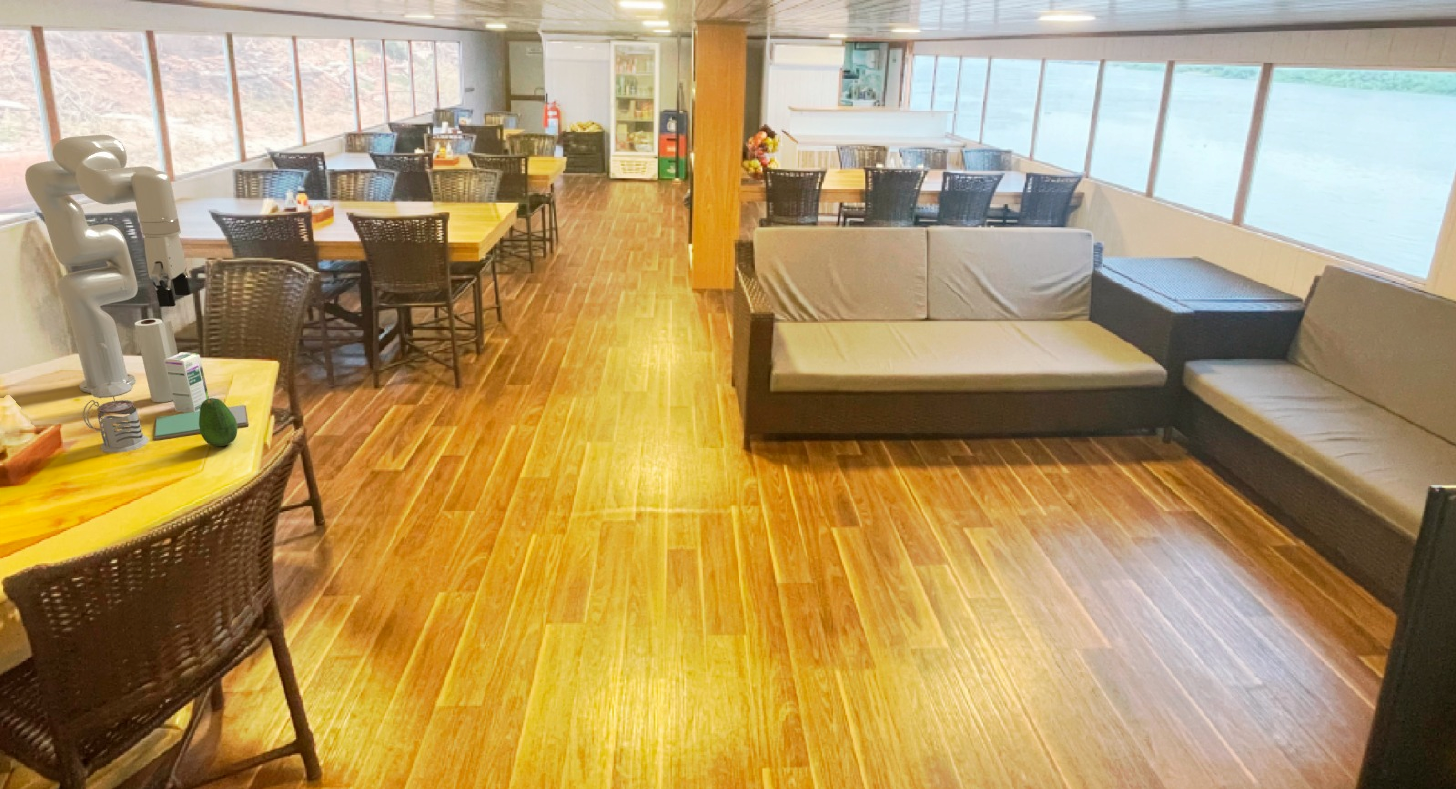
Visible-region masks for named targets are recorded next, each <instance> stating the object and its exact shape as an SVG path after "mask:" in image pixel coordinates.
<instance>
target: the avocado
mask: <svg viewBox="0 0 1456 789" xmlns="http://www.w3.org/2000/svg"><path fill="white" fill-rule="evenodd" d="M228 407H229V406H227V405H226V404H225V403H224V401H222V400H221V399H220V398H212V397H211V398H210V397H209V399H206V400H205V401H204V402H203V403H202V404H201V407H200V416H199V427H200V434H199V435H201V437H202V438H203V440H204V441H205V442H206V443H207V444H209V445H210V446H214V447H224V446H229V445H230V444H231V443H232V442H234V441H235V440H236V438H237V435H238V428H237V422H236V419H235V417H234V415H233V414H232V412H231V411H230V410H229V409H228Z"/></svg>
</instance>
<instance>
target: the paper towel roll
mask: <svg viewBox="0 0 1456 789" xmlns="http://www.w3.org/2000/svg"><path fill="white" fill-rule="evenodd" d="M134 328H135V332H136V336H137V340H138V345H139V349H140V350H139V351H140V355H141V359H142V362H143V368H144V373H145V377H146V381H147V384H148V390H149V395H150V399H151V401H152V402H154V403H167V402H171V401H173V397H172V393H171V389H170V384H169V380H168V376H167V371H166V367H165V363H164V360H165V359H167V358H170V357H172V356H174V355H177V354H179V352H178V347H177V343H176V338H175V334H174V329H173V323H172V321H171V320H169V321H168V320H167V321H163V320H162V319H161V318H146V319H140V320H138V321H137V320H136V322H134Z"/></svg>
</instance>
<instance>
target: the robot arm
mask: <svg viewBox="0 0 1456 789" xmlns="http://www.w3.org/2000/svg"><path fill="white" fill-rule="evenodd" d="M52 157H53V159H54V160H49V161H43V162H37V163H34V164H32V165H30V166H28V167H27V169H26V170H25V175H24V178H25V184H26V187H27V190H28V192H29V194H30V196H31V198H32V199H33V201H34V202H35V203H36V205H37V206H38V208H39V209H40V211H41V213H42V216H43V219H44V222H45V226H46V229H47V233H48V236H49V241H50V244H51V247H52V250H53V253H54V255H55V257H56V260H57V261H58V262H59V264H60V265H62V266H65V267H81V266H86V265H87V266H88V265H92V264H93V265H94V264H100V263H106V264H107V266H102V267H101V266H100V267H97V268H88V269H85V270H84V269H83V270H78V271H73V272H69V273H66V274H64V275H63V276H61V277H60V278H59V280H58V281H57V284H56V288H57V292H58V294H59V297H60V299H61V301H62V303H63V306H64V308H65V310H66V313H67V316H68V318H69V319H68V320H69V322H70V326H71V330H72V333H73V338H74V342H75V344H76V350H77V352H78V353H77V354H78V356H79V361H80V365H81V368H82V371H83V372H82V373H83V376H84V380H83V381H82V382H81V383H79V388H80V389H79V390H80V391H81V392H84V393H88V394H91V392H92V391H93V390H94V389H95V388H97V387H98V386H100V385H102V384H105V383H109V378H110V382H124V383H127V384H130V385H132V386H133V385H135V382H136V377H135V375H133V374H130V373H127V369H126V363H125V361H124V359H125V358H124V356H123V352H122V348H121V347H122V346H121V343H120V339H119V335H118V330H117V325H116V322H115V320H114V318H113V317H112V315H110V314H109V313H108V312H106V311H105V310H103V309H102V306H105V305H109V304H112V303H119V302H124V301H128V300H130V299H133V298H135V297H136V295H137V294H138V290H139V288H138V281H137V277H136V274H135V269H134V265H133V262H132V257H131V254H130V250H129V246H128V243H127V240H126V238H125V236H124V234H123V233H122V231H121V230H120V229H119V228H118V227H116V226H114V225H112V224H109V223H103V224H93V225H89V224H88V222H87V219H86V214H85V212H84V209H83V208H82V206H81V205H80V204H79V203H78V201H75V199H73V197H71V196H75V195H85V197H87V198H88V199H91V200H93V201H94V202H97V203H99V204H102V205H119V204H125V203H135V206H136V207H135V208H136V210H137V215H138V220H139V225H140V230H141V234H142V236H143V237H144V240H143V241H144V251H145V252H144V253H145V254H144V255H145V259H146V266H147V271H148V277H149V279H150V280H152V281H153V282H152V284H153V285H154V289H155V291H156V296H157V301H158V305H159V307H161V308H170V307H171V308H172V307H173V308H174V307H175V306H176V300H175V295H176V296H189V295H191V288H190V283H189V278H188V273H187V265H186V264H187V263H186V257H185V253H184V249H183V245H182V241H181V238H180V234H182V233H181V232H182V231H181V226H180V222H179V217H178V211H177V205H176V201H175V194H174V190H173V185H172V181H171V177H170V175H169V174H168V173H166V172H165V171H160V170H156V169H155V168H154V167H151V166H146V165H145V166H144V165H141V166H133V167H132V166H130V167H126V165H127V161H128V155H127V151H126V148H125V147H124V145H123V144H122V142H121V141H119V139H118V138H116V137H115V136H112V135H109V134H108V135H107V134H94V135H80V136H68V137H65V138H61V139H60V140H59V141H57V142H56V143H55V144H54V145H53V148H52ZM171 283H172V285H173V288H171ZM174 294H175V295H174ZM100 343H104V344H105V345H106V346H107V348H106V349H103V353H104V357H105V362H106V366H107V370H108V374H109V378H108V374H107V370H106V366H105V362H104V358H103V353H102V349H100V350H99V349H97V345H98V344H100Z"/></svg>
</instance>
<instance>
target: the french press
mask: <svg viewBox="0 0 1456 789" xmlns="http://www.w3.org/2000/svg"><path fill="white" fill-rule="evenodd" d="M106 348H107V346H106V345H105V344H104V343H100V344H98V345H97V349H99V350H100V349H102V353H103V349H106ZM103 358H104V362H105V357H104V353H103ZM105 366H106V362H105ZM106 370H107V366H106ZM107 374H108V370H107ZM108 378H109V374H108ZM132 389H133V385H130V384H127V383H124V382H110V378H109V383H105V384H102V385H100V386H98V387H97V388H95V389H94V390H93V391H92V392H91V393H90V394H91V396H93V397H95V398H97V399H101V398H104V399H106V398H113V400H112V401H108V402H105V403H103V404H101V405H99V402H98V401H95V400H89V402H87V403H86V405H85V406H84V407H83V412H82V417H83V418H82V419H83V421H84V423H85V425H86V426H87V427H88V428H89V429H92V430H93V431H97V432H100V434H101V438H102V441H103V443H102V444H101V445H100V447H99V449H100V450H101V451H102V452H104V453H107V454H108V453H109V454H110V453H111V454H113V453H114V454H116V453H117V454H119V453H126V452H130V451H134V450H137V449H140V448H142V447H144V446H146V445H147V444H148V443H149V441H150V438H149V437H148V436H147V435H144V434H143V432H142V431H143V429H142V427H141V422H140V418H139V413H138V408H137V407H136V406H135V402H133V401H132V400H127V399H124V400H122V399H118V400H115V397H119V396H122V395H125V394H128V393H129V392H131V391H132ZM92 402H93V403H92ZM90 403H92V404H90ZM89 404H90V406H89V407H88V405H89ZM93 405H94V406H95V407H96V408H97V411H98V413H97V420H98V423H99V427H100V428H95V427H94V426H93V425H92V424H91V423H90V420H89V415H90V413H89V412H90V409H91V408H92V407H93ZM87 407H88V409H87V412H86V408H87ZM85 413H86V416H85ZM105 414H114V415H105ZM104 415H105V416H104ZM116 415H124V416H116ZM103 416H104V417H103ZM102 417H103V418H102ZM118 429H119V430H118Z"/></svg>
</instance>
